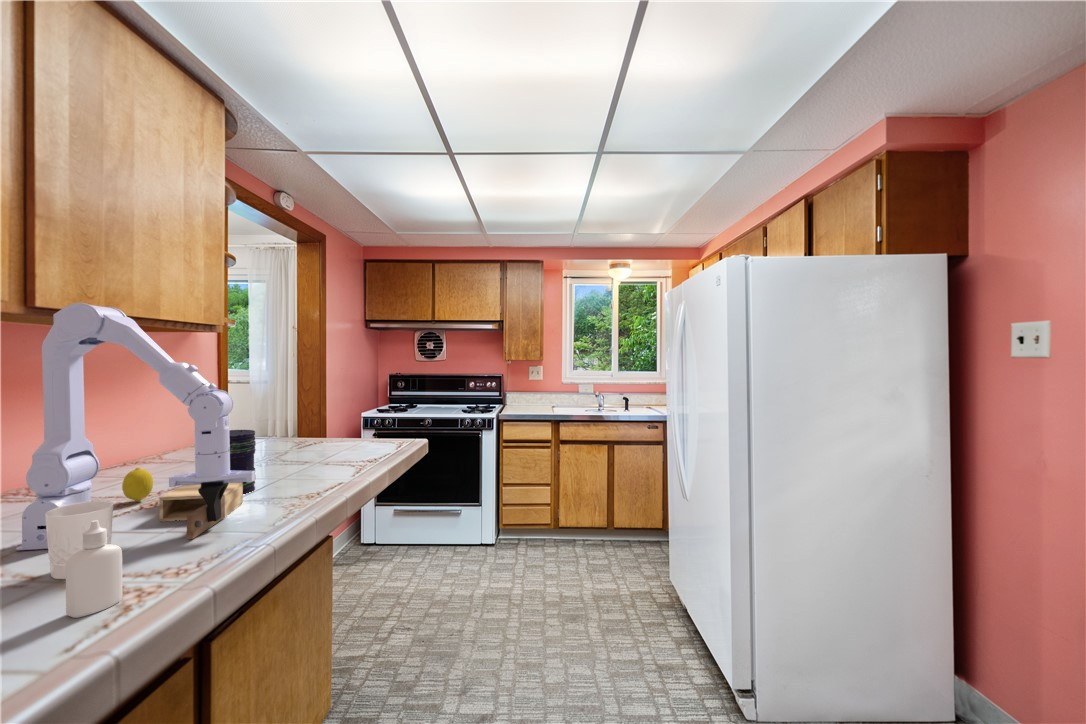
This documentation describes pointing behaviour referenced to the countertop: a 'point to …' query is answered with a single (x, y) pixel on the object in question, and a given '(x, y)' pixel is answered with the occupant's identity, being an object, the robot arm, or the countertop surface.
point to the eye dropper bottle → (93, 574)
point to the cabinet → (195, 501)
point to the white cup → (73, 531)
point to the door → (201, 520)
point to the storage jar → (243, 454)
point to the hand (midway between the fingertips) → (214, 519)
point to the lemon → (137, 484)
